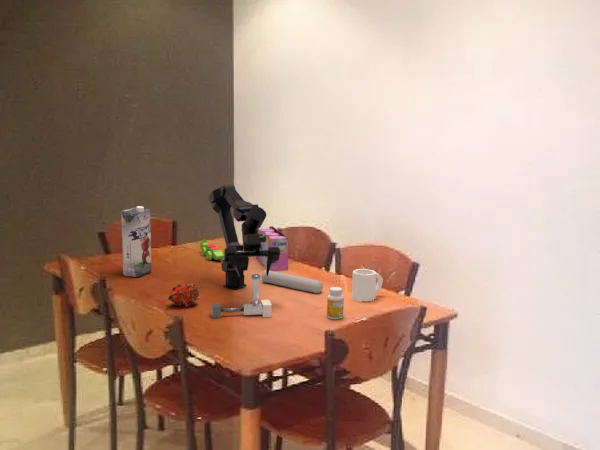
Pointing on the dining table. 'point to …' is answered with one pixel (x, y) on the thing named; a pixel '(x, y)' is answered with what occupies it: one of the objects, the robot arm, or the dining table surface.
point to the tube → (292, 281)
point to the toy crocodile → (211, 251)
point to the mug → (365, 284)
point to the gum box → (274, 240)
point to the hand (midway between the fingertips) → (253, 276)
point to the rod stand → (222, 310)
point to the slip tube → (254, 298)
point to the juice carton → (136, 241)
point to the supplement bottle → (335, 303)
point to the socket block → (267, 308)
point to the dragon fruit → (184, 294)
